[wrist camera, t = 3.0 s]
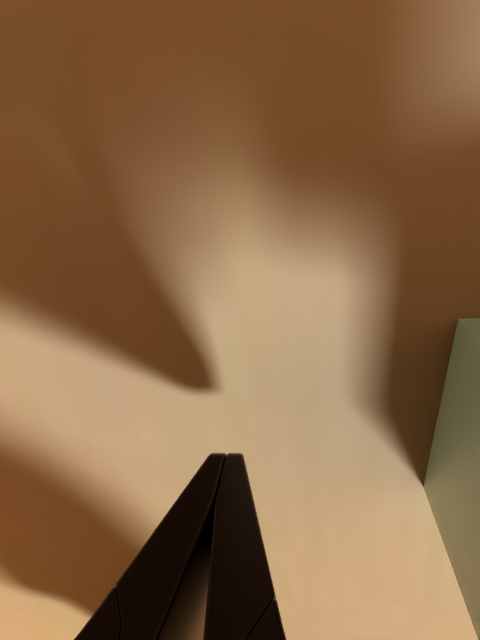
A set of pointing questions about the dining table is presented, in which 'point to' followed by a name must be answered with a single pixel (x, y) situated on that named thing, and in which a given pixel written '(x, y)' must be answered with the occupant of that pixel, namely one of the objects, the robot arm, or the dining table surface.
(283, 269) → the dining table surface
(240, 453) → the robot arm
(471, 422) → the teal cube with ball
